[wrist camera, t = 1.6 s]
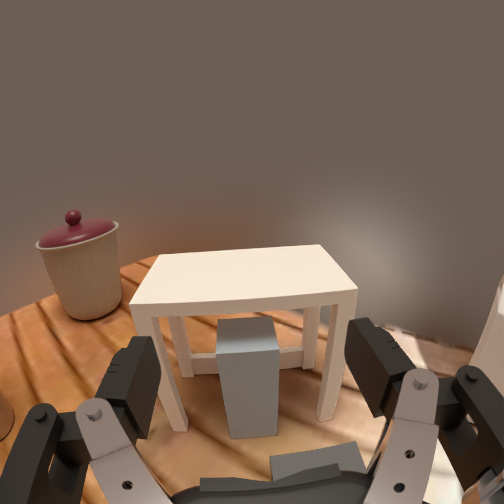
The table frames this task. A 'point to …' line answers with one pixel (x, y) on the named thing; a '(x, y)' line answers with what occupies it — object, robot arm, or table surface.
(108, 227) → the canister
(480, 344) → the milk carton
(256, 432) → the blank
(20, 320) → the table surface
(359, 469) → the mat
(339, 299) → the rack
